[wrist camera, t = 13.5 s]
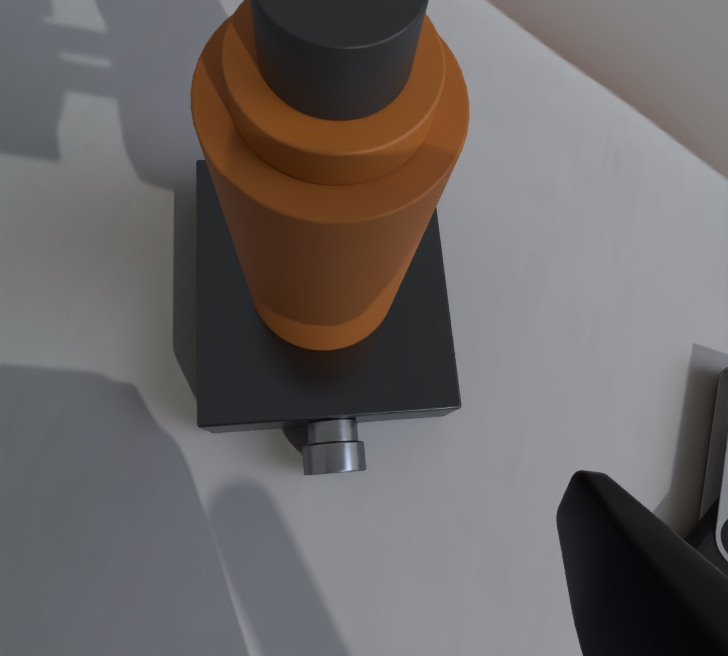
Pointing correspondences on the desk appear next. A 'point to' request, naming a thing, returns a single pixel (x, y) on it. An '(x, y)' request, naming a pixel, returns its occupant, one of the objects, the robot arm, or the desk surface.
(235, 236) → the amber bottle
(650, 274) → the desk surface
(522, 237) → the desk surface
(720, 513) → the usb flash drive
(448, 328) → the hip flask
